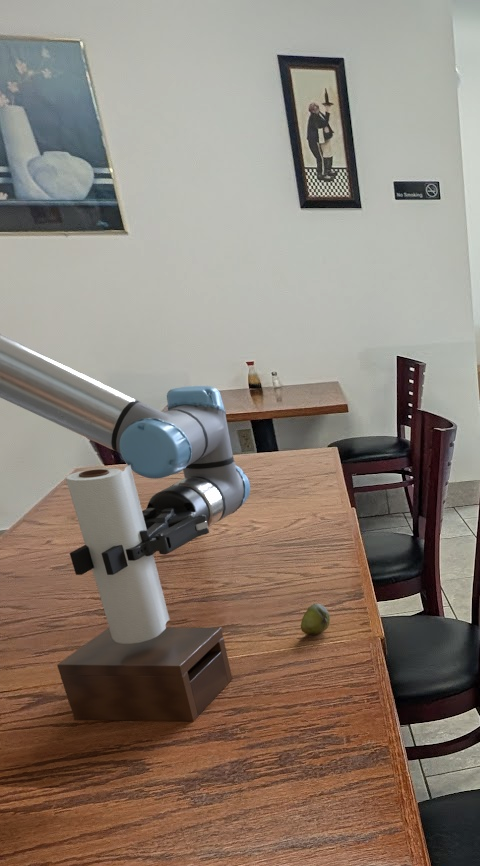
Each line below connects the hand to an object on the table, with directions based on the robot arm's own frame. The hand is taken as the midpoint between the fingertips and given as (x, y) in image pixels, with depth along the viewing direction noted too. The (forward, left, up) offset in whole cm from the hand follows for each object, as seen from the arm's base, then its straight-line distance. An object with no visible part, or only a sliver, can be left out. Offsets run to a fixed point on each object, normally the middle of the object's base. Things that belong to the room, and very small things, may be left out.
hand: (91, 563), depth 97 cm
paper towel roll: (+1, +5, -12) cm, 13 cm away
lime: (+15, +27, -21) cm, 38 cm away
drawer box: (0, +5, -21) cm, 22 cm away
